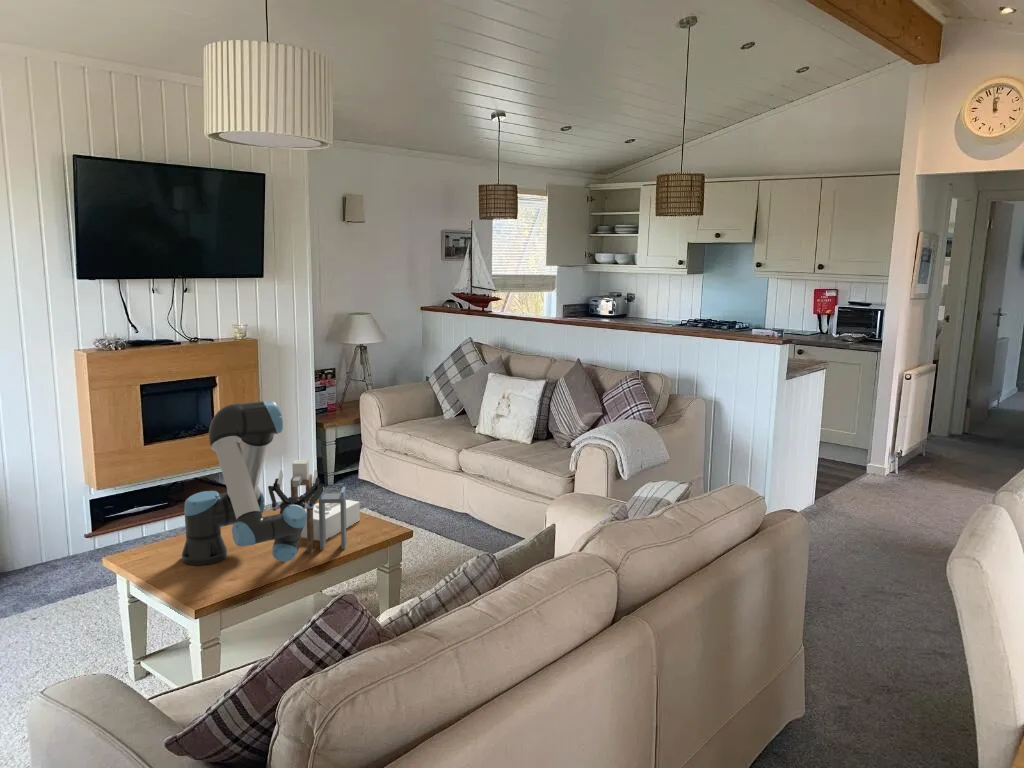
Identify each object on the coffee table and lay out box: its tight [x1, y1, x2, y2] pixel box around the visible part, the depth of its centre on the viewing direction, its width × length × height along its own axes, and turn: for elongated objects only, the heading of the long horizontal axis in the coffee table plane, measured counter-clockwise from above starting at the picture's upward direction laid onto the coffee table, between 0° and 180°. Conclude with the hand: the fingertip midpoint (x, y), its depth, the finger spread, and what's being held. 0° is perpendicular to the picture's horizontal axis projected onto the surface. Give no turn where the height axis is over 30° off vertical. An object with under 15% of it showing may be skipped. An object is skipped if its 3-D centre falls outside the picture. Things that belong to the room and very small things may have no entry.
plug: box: [291, 459, 310, 487], centre depth 276 cm, size 5×14×6 cm, turn 6°
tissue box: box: [300, 499, 361, 542], centre depth 308 cm, size 14×25×11 cm, turn 157°
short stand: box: [318, 486, 348, 551], centre depth 288 cm, size 9×7×22 cm
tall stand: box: [290, 474, 315, 555], centre depth 283 cm, size 6×7×28 cm
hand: (298, 472), depth 276 cm, fingers open, 11 cm apart
